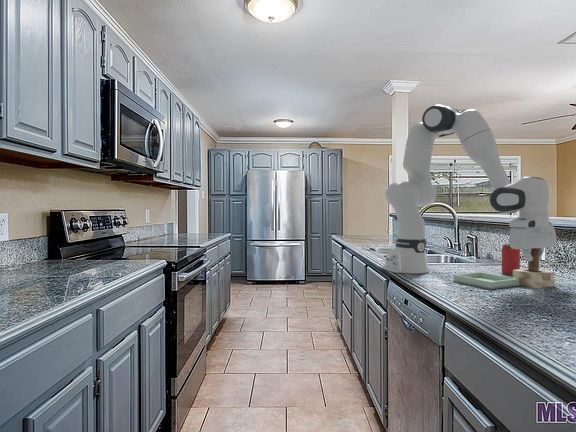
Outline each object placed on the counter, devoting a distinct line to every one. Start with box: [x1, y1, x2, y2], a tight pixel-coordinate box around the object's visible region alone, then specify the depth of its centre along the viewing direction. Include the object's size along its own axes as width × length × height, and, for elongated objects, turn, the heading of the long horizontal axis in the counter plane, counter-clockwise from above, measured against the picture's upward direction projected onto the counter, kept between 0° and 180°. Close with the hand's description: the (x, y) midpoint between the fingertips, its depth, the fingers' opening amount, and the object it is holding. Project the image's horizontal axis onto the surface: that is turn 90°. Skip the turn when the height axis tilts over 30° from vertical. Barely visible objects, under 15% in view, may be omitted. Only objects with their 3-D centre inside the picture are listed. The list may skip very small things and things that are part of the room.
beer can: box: [501, 243, 521, 276], centre depth 158 cm, size 7×7×12 cm
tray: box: [453, 271, 520, 290], centre depth 138 cm, size 16×14×2 cm
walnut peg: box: [527, 248, 540, 272], centre depth 135 cm, size 3×3×13 cm
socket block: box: [512, 267, 556, 289], centre depth 135 cm, size 9×9×5 cm
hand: (533, 260), depth 135 cm, fingers closed on walnut peg, 3 cm apart
